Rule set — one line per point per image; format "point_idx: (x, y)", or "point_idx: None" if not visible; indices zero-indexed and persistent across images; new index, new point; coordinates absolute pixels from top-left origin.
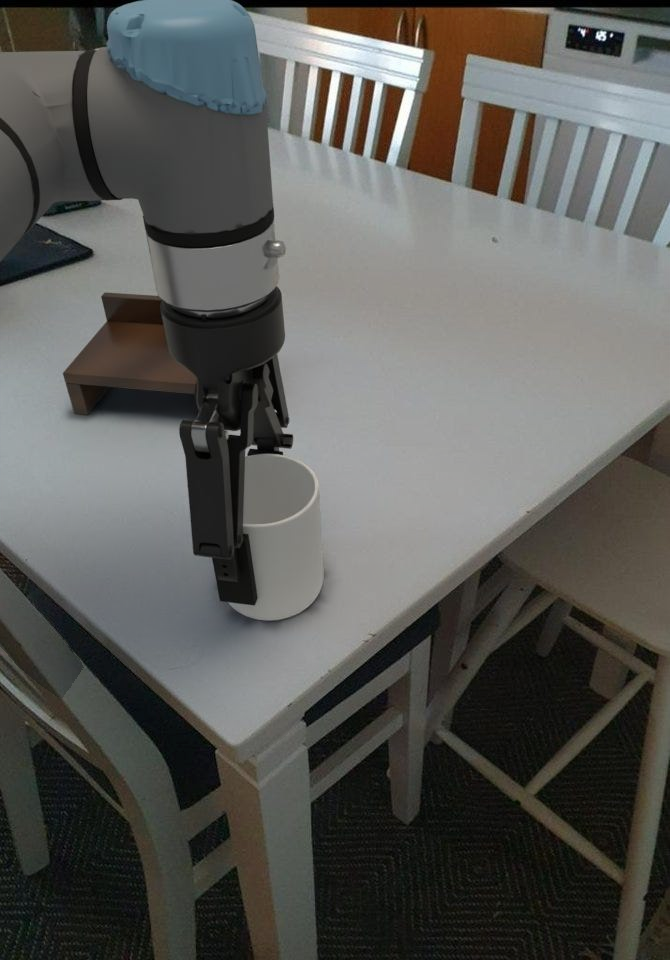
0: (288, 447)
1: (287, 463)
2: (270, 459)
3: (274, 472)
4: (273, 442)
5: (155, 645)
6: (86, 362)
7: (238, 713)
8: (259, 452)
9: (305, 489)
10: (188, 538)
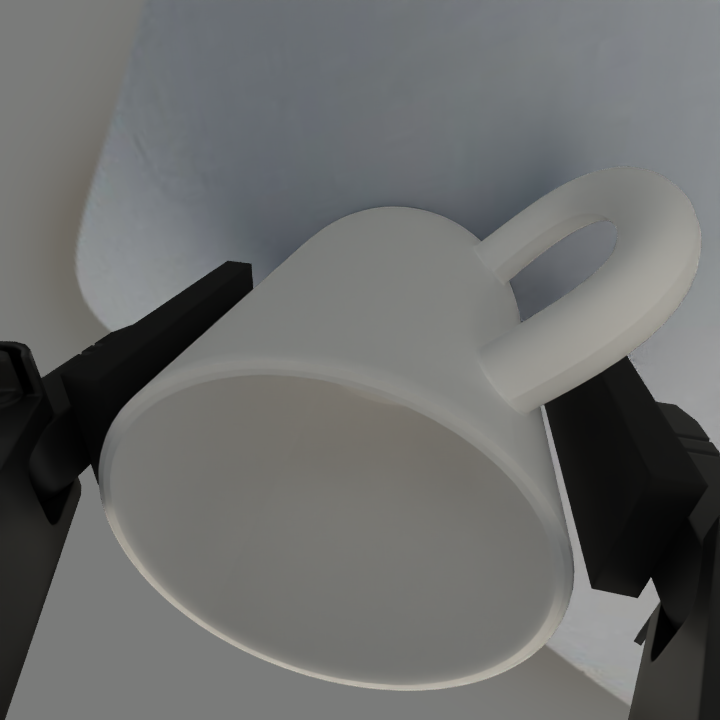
0: (636, 639)
1: (521, 616)
2: (547, 581)
3: (536, 526)
4: (654, 635)
5: (177, 75)
6: None
7: (106, 294)
8: (654, 522)
9: (466, 570)
10: (587, 31)
